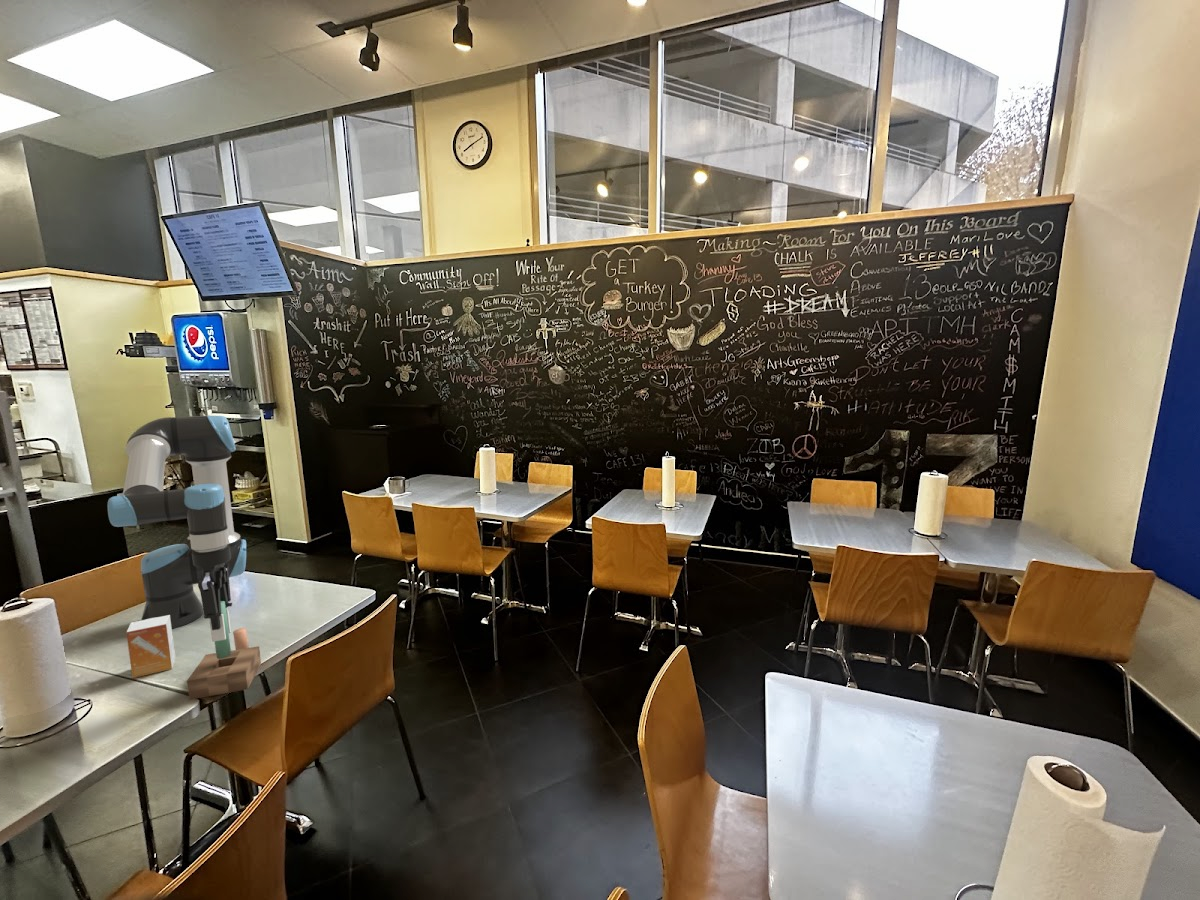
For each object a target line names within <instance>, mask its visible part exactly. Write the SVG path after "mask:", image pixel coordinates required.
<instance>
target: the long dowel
mask: <svg viewBox="0 0 1200 900" xmlns="http://www.w3.org/2000/svg"><path fill="white" fill-rule="evenodd" d="M221 614H223V616H224V624H225V633H226V639H225V640H220V641H214V646H215V647H214V650H215V653H216V656H217V659H223V658H226V657H228V656H230V655H231V651H232V649H231V641H230V633H229V631H228V623H227V615H226V607H225V601H221Z"/></svg>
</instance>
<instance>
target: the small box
mask: <svg viewBox="0 0 1200 900" xmlns="http://www.w3.org/2000/svg"><path fill="white" fill-rule="evenodd" d="M172 629H173V628H171V620H170V615H166V616H162V617H156V618H150V619H146V620H141V619H140V620H137V621H131V622H130V624H129V626H128V628H127V630H126V632H125V633H126V641H127V648H128V656H129V662H130V664H129V665H130V670H131V677H132V679H136V678H139V677H143V676H146V675H147V676H148V675H152V674H155V673H160V672H163V671H169V670H173V667H174V665H175V660H176V651H175V643H174V637H173V630H172Z"/></svg>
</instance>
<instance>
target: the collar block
mask: <svg viewBox="0 0 1200 900" xmlns="http://www.w3.org/2000/svg"><path fill="white" fill-rule="evenodd" d="M261 664H262V662H261V652H260V646H253V647H249V648H245V649H239V650H236V649H234V650H232V649H231V655H230V656H228V657H226V658H223V659H217V656H216V652H215V653H208V654H205V655H204V656H203V658H202V659H201V661H200V662H199V663H198V665H197V666H196V667H195V669H194V670H193V671H192V673H191V675H190V676H189V677H188V678H187V680H186V685H187V691H188V693H187V694H188V699H189V700H194V699H201V698H205V697H212V696H216V695H222V694H228V693H234V692H239V691H244V690H248V689H249V688H250V687H251V686H250V685H251V683H252V682H253V680H254V677H255V675H256V673H257V672H258V670H259V668H260V667H261Z"/></svg>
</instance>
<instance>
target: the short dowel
mask: <svg viewBox="0 0 1200 900" xmlns="http://www.w3.org/2000/svg"><path fill="white" fill-rule="evenodd" d="M232 635H233V641H234V650H239V649H245V648H250V645H249V639H248V632H247V628H246V627H241V628H238V629H236V630H234V631H232Z"/></svg>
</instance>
